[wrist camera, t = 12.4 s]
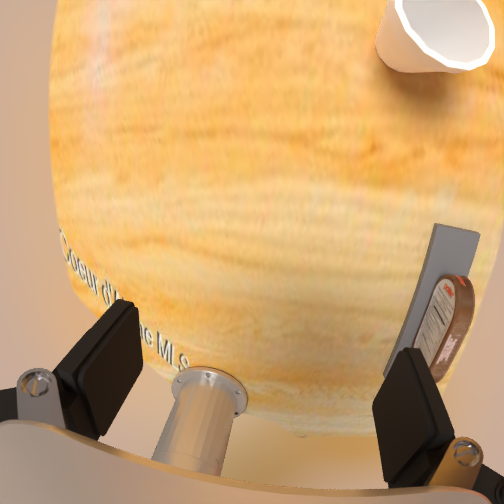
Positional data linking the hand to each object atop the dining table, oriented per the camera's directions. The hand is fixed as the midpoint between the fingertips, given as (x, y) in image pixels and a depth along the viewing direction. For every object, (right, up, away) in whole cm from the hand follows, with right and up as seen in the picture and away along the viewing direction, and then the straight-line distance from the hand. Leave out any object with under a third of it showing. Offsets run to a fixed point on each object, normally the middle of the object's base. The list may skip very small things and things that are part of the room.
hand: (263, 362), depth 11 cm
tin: (+24, -5, +28) cm, 37 cm away
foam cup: (+16, +27, +17) cm, 36 cm away
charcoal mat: (+24, -4, +28) cm, 37 cm away
